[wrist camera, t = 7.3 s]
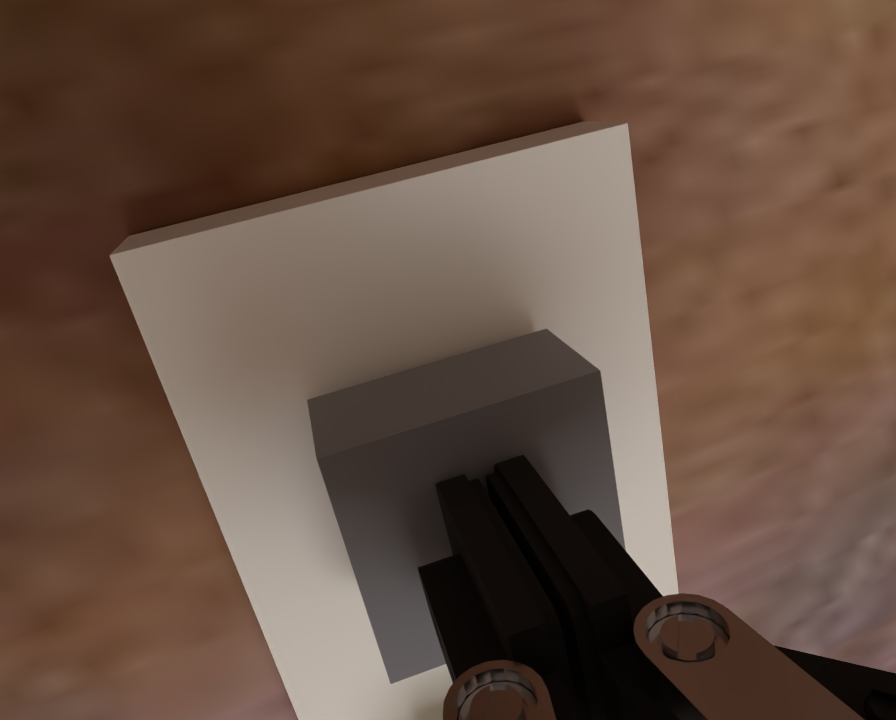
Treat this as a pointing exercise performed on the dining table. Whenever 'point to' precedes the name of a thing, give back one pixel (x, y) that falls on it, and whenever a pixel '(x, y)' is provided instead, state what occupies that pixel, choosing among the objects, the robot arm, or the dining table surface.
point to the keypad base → (389, 361)
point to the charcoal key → (453, 465)
